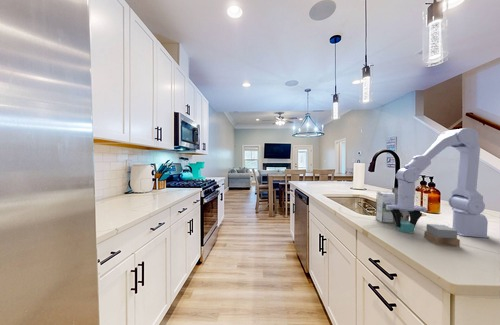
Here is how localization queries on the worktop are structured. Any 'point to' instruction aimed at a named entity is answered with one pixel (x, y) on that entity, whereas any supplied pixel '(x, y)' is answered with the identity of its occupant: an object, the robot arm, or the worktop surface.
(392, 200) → the syrup box
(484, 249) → the worktop surface
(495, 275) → the worktop surface
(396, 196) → the coffee box
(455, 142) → the robot arm
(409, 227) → the teal block
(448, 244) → the walnut base block
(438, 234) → the grey middle block
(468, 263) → the worktop surface
